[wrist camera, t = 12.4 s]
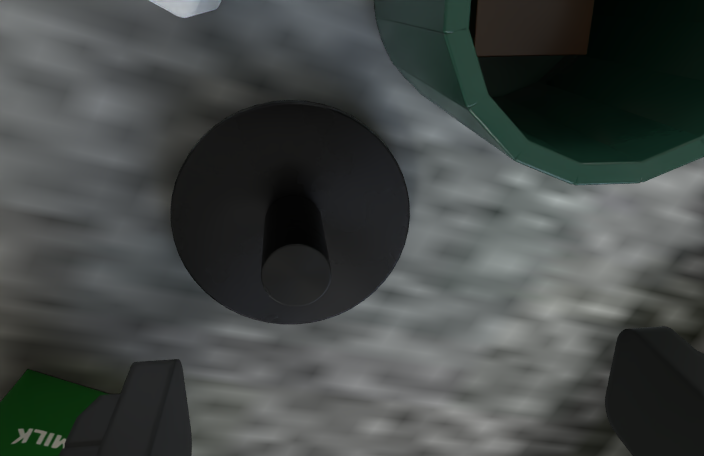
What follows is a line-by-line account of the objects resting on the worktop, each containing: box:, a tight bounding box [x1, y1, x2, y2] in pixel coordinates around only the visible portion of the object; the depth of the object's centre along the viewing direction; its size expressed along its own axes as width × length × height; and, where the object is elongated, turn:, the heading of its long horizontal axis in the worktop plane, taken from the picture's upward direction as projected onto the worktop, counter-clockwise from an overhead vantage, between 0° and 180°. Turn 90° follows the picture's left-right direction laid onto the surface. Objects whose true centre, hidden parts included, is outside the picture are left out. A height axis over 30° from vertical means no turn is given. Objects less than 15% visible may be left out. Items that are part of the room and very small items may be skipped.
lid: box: [171, 100, 410, 324], centre depth 22 cm, size 10×10×6 cm
